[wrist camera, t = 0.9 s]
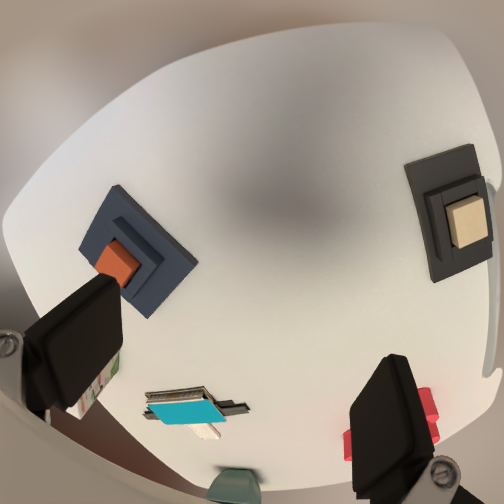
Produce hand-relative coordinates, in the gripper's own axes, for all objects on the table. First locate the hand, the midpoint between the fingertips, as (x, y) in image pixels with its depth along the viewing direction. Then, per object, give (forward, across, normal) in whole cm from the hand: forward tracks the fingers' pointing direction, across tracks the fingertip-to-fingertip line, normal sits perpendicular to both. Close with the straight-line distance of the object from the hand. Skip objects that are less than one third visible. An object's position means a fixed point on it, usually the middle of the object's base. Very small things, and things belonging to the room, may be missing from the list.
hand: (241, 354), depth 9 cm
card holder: (+18, +5, +33) cm, 38 cm away
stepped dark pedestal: (+18, -16, -5) cm, 25 cm away
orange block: (+16, +15, +8) cm, 23 cm away
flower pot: (+18, -6, +51) cm, 55 cm away
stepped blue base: (+18, +15, +8) cm, 25 cm away
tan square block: (+16, -16, -5) cm, 23 cm away
